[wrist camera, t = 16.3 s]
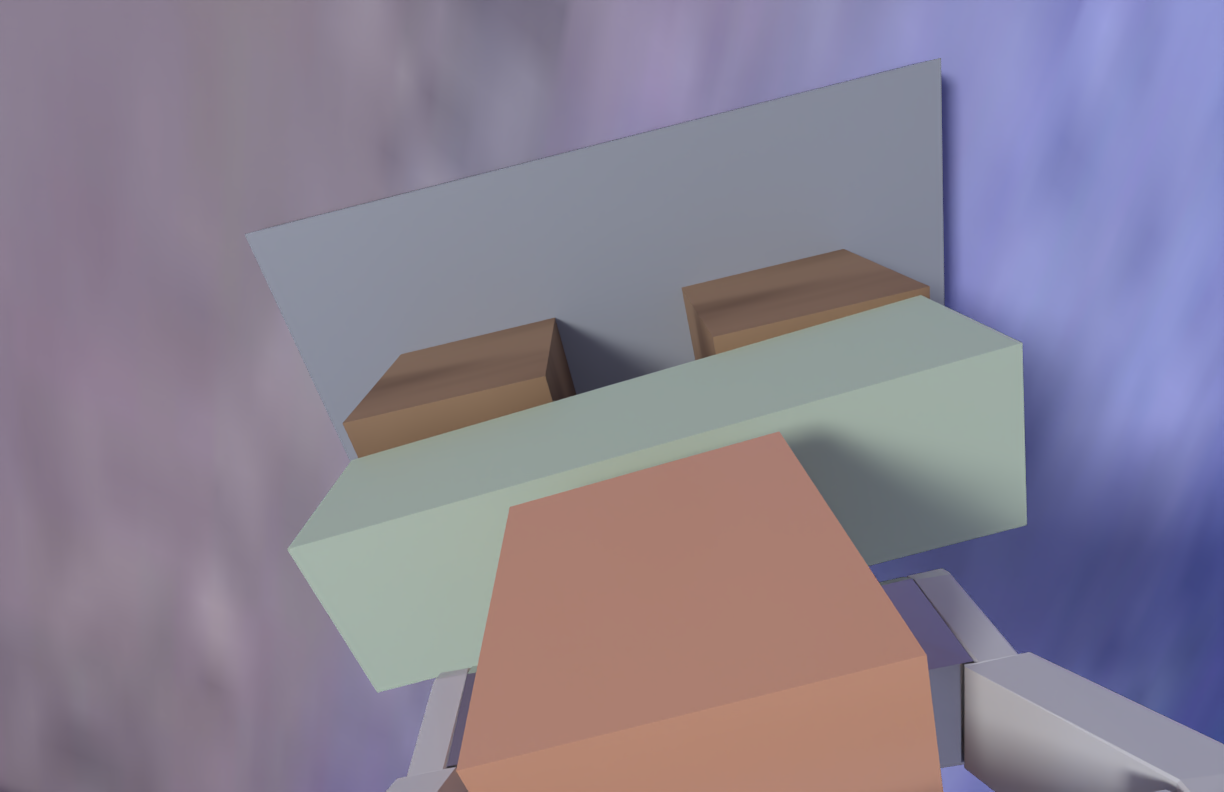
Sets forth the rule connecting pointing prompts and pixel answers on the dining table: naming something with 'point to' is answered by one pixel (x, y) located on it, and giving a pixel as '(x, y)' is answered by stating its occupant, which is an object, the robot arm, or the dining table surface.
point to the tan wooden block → (789, 299)
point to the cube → (695, 642)
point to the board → (615, 235)
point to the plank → (671, 430)
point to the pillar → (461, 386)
